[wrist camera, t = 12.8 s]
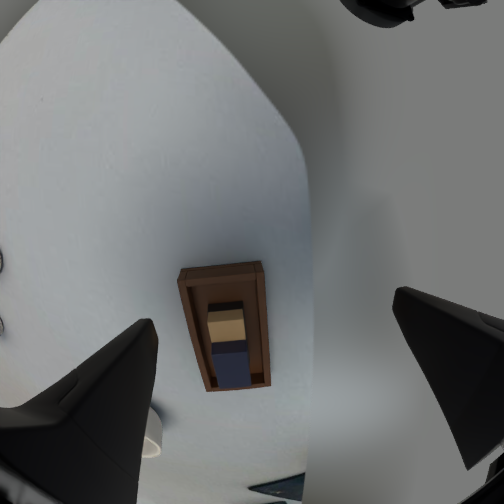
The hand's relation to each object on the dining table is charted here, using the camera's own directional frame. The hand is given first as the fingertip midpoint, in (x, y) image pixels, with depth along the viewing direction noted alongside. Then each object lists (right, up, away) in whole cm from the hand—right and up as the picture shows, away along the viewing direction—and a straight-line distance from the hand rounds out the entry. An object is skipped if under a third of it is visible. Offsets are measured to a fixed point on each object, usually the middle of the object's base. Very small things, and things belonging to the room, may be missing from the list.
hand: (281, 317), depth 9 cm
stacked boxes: (-3, -5, +13) cm, 14 cm away
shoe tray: (-3, -4, +14) cm, 15 cm away
